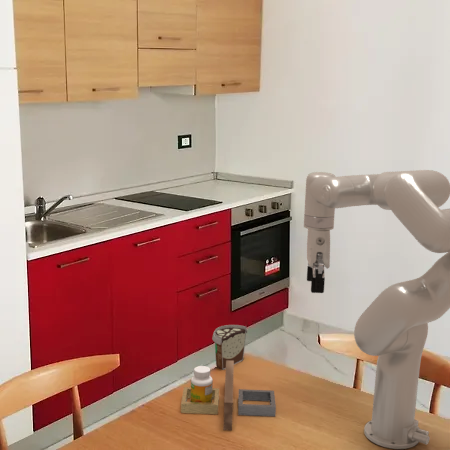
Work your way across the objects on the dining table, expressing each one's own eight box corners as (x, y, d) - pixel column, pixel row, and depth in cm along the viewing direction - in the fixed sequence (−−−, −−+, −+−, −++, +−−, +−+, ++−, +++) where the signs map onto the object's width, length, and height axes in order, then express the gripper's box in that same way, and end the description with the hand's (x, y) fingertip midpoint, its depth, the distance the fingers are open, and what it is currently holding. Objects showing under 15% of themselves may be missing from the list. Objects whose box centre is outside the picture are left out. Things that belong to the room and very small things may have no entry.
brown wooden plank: (232, 385, 188) (233, 360, 187) (231, 430, 165) (233, 402, 163) (225, 384, 188) (226, 360, 187) (223, 430, 165) (224, 402, 163)
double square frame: (273, 399, 181) (274, 390, 180) (275, 416, 172) (275, 407, 172) (183, 396, 181) (183, 387, 181) (180, 412, 172) (181, 403, 172)
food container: (229, 353, 210) (231, 321, 207) (246, 358, 206) (247, 326, 204) (202, 365, 200) (203, 332, 198) (219, 371, 196) (220, 337, 194)
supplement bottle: (185, 405, 177) (186, 368, 174) (201, 398, 180) (202, 362, 178) (201, 412, 173) (202, 375, 171) (216, 405, 177) (217, 369, 175)
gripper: (338, 229, 170) (334, 297, 174) (329, 215, 187) (325, 277, 190) (307, 228, 170) (303, 296, 174) (300, 214, 187) (297, 276, 190)
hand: (315, 286), depth 182 cm, fingers open, 9 cm apart
